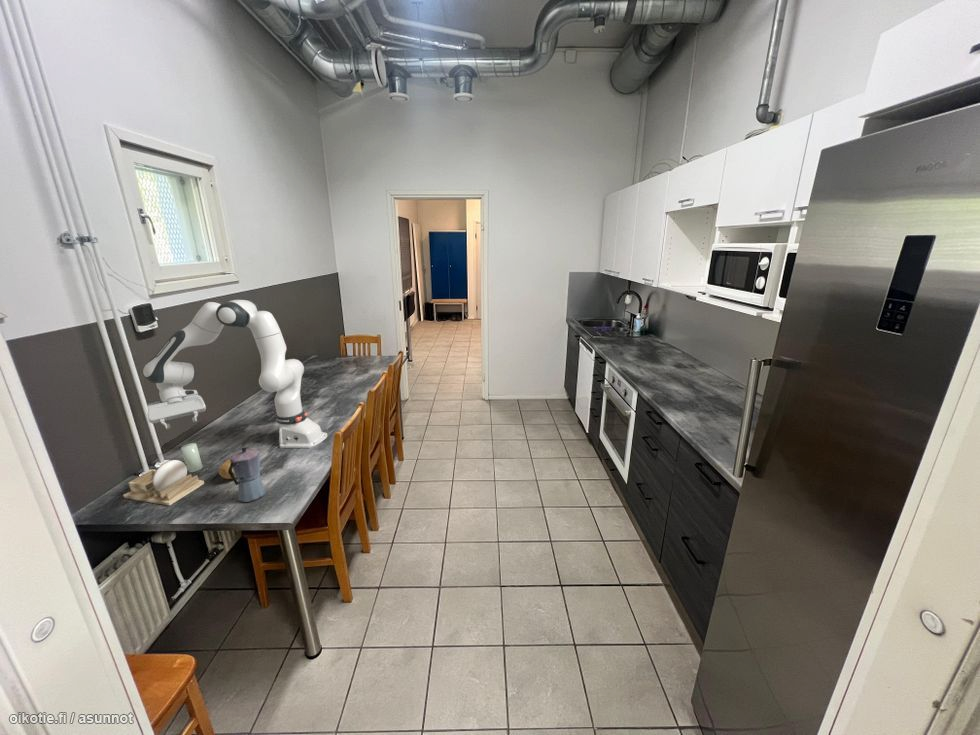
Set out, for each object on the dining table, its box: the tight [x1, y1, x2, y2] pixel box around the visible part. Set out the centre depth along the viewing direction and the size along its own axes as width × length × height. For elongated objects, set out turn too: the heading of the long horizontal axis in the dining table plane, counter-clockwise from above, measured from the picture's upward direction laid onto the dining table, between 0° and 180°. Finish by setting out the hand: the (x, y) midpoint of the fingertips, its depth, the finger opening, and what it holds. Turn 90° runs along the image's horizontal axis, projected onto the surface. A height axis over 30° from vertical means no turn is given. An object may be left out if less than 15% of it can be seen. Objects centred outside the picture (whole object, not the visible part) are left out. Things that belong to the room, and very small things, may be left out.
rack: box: [123, 459, 205, 506], centre depth 147 cm, size 22×14×13 cm, turn 77°
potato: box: [218, 458, 238, 480], centre depth 158 cm, size 10×14×8 cm
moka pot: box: [228, 447, 266, 503], centre depth 142 cm, size 10×15×20 cm, turn 2°
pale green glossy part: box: [180, 442, 203, 473], centre depth 162 cm, size 5×5×11 cm
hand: (182, 424), depth 168 cm, fingers open, 8 cm apart
